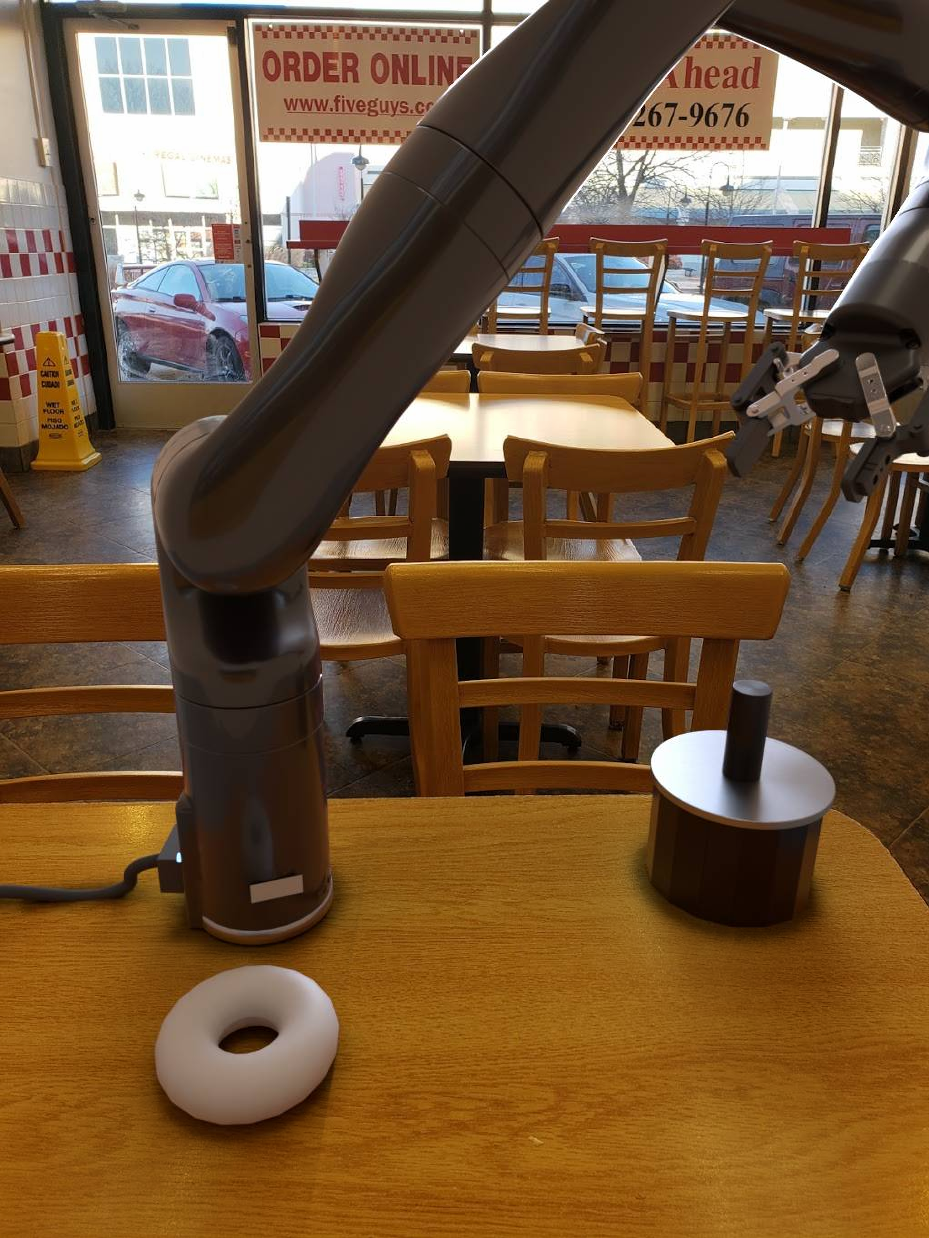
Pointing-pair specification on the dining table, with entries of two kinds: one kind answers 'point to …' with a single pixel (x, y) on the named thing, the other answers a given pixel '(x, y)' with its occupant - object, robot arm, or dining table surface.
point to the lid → (743, 770)
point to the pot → (729, 866)
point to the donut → (255, 1079)
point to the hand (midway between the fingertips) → (788, 482)
